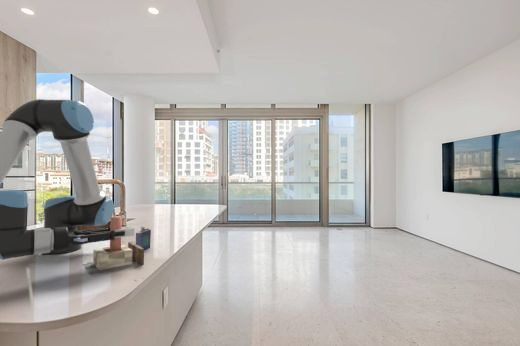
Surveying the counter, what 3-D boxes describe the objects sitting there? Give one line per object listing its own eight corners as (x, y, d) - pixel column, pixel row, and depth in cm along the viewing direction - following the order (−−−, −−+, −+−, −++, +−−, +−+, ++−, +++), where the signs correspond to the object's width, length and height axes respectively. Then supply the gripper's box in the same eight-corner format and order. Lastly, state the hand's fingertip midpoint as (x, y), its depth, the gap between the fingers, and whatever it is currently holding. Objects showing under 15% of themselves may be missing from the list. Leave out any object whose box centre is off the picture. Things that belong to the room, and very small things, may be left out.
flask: (139, 254, 110) (140, 228, 110) (132, 254, 110) (133, 228, 111) (151, 249, 119) (152, 225, 119) (145, 248, 120) (146, 224, 120)
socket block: (93, 263, 95) (93, 249, 95) (123, 257, 101) (123, 244, 102) (99, 270, 87) (100, 255, 87) (132, 264, 94) (132, 250, 94)
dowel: (108, 256, 95) (109, 216, 95) (119, 254, 97) (120, 216, 98) (111, 258, 92) (111, 218, 93) (121, 256, 95) (122, 217, 95)
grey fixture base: (82, 267, 94) (82, 248, 94) (131, 258, 105) (131, 241, 105) (90, 278, 84) (91, 257, 84) (143, 267, 95) (144, 248, 95)
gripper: (49, 247, 89) (125, 237, 105) (54, 258, 77) (139, 245, 92) (50, 224, 89) (125, 218, 105) (54, 231, 77) (139, 223, 93)
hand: (131, 230), depth 99 cm, fingers closed on dowel, 3 cm apart
